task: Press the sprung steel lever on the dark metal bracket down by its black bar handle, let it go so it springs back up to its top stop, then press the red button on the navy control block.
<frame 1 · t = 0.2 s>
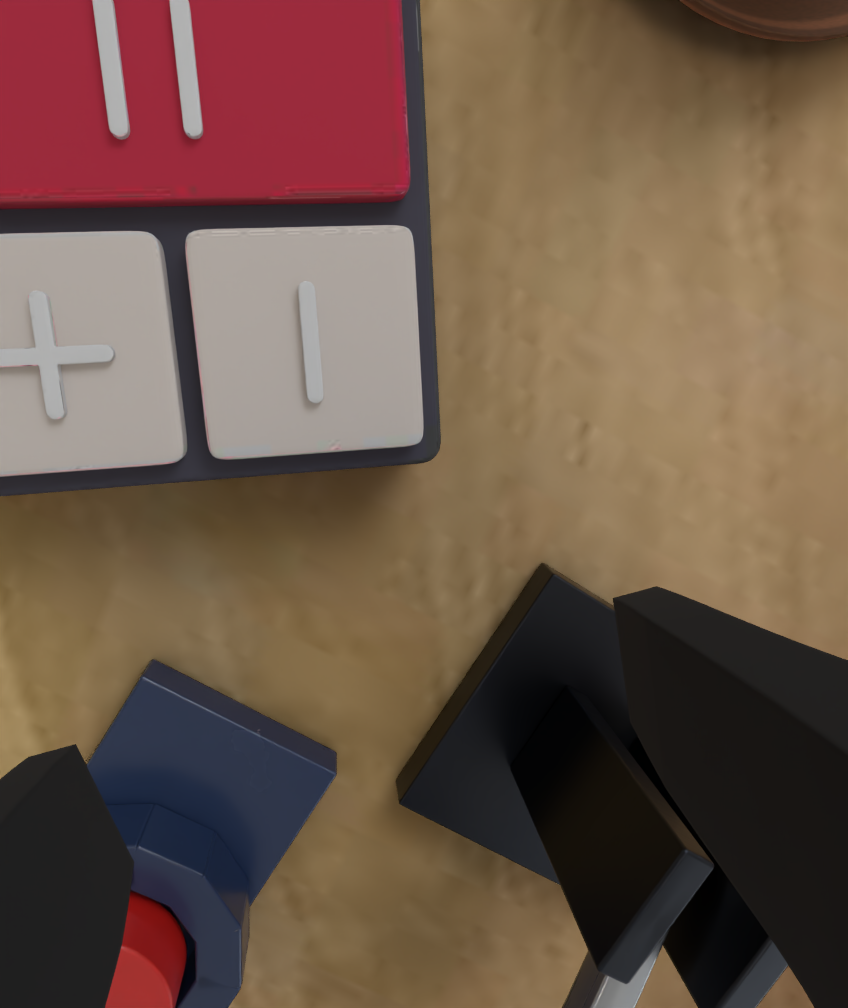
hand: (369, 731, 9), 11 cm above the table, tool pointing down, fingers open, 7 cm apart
calculator: (115, 250, 18), on the table
button: (97, 982, 17), point 3 cm above the table, slide at 0.1 cm
control block: (160, 842, 21), on the table
bracket: (572, 732, 22), on the table
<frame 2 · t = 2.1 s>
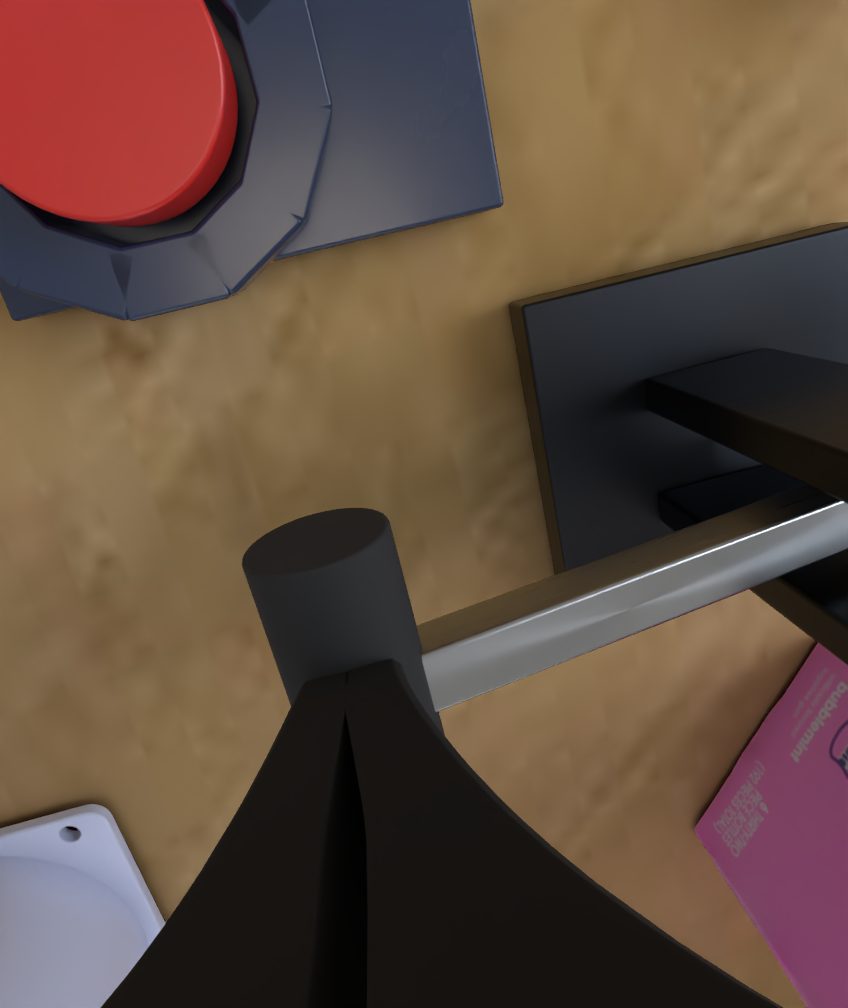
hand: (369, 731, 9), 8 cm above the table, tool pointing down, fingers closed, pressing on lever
button: (97, 83, 11), point 3 cm above the table, slide at 0.1 cm
control block: (223, 107, 14), on the table
bracket: (687, 425, 18), on the table
lever: (620, 594, 11), point 7 cm above the table, hinge at 9.6°, touching gripper
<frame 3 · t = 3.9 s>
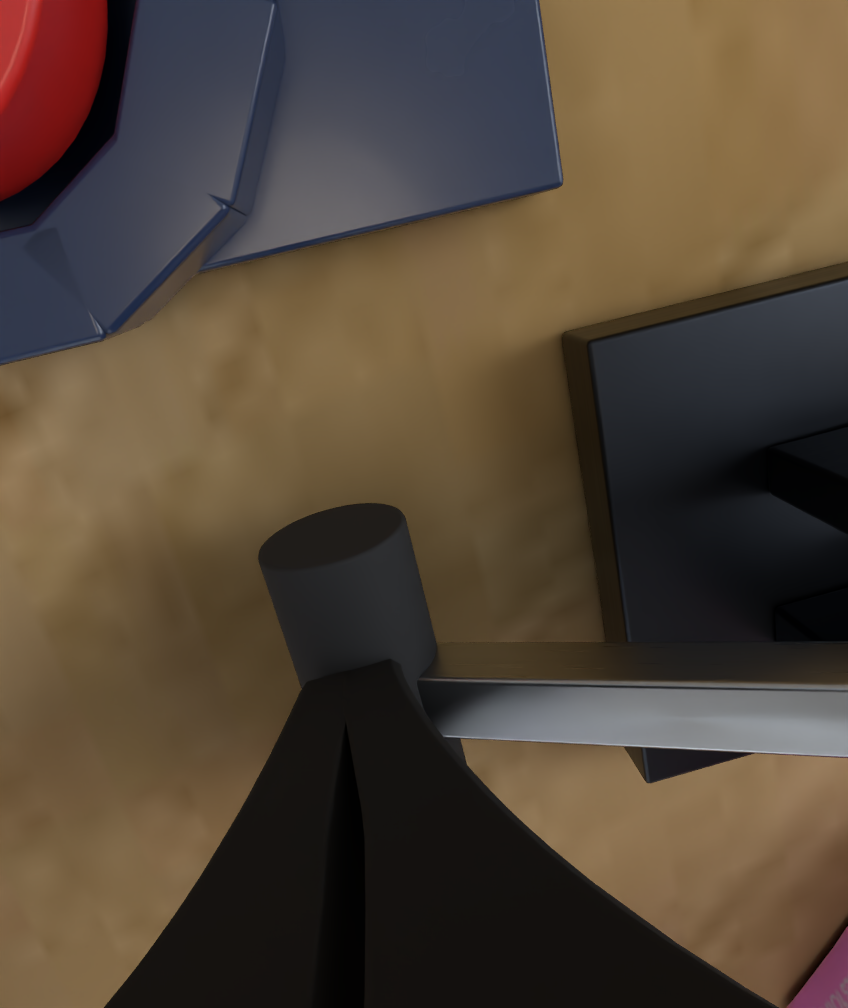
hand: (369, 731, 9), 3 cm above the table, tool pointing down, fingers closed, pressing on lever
control block: (117, 27, 9), on the table
bracket: (808, 503, 12), on the table
lever: (693, 694, 9), point 4 cm above the table, hinge at -26.7°, touching gripper
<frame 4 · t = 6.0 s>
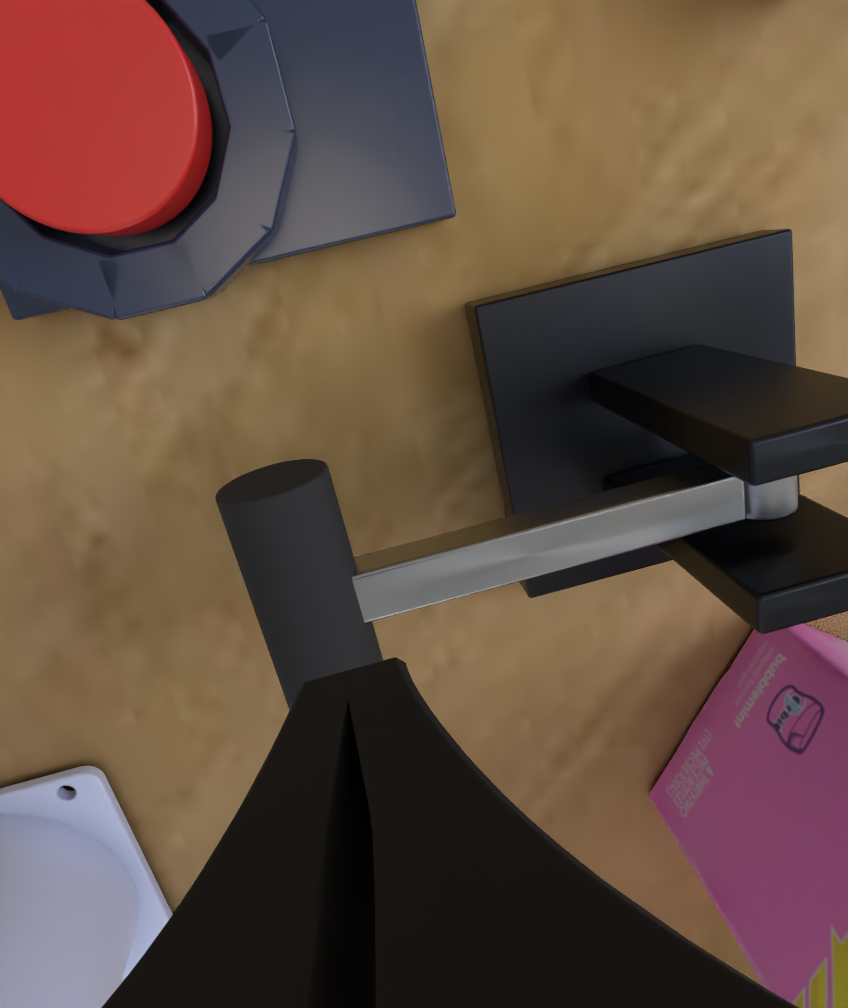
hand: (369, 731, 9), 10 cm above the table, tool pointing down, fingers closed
button: (87, 112, 12), point 3 cm above the table, slide at 0.1 cm
control block: (202, 127, 16), on the table
bracket: (633, 416, 19), on the table
lever: (531, 543, 13), point 6 cm above the table, hinge at 0.2°
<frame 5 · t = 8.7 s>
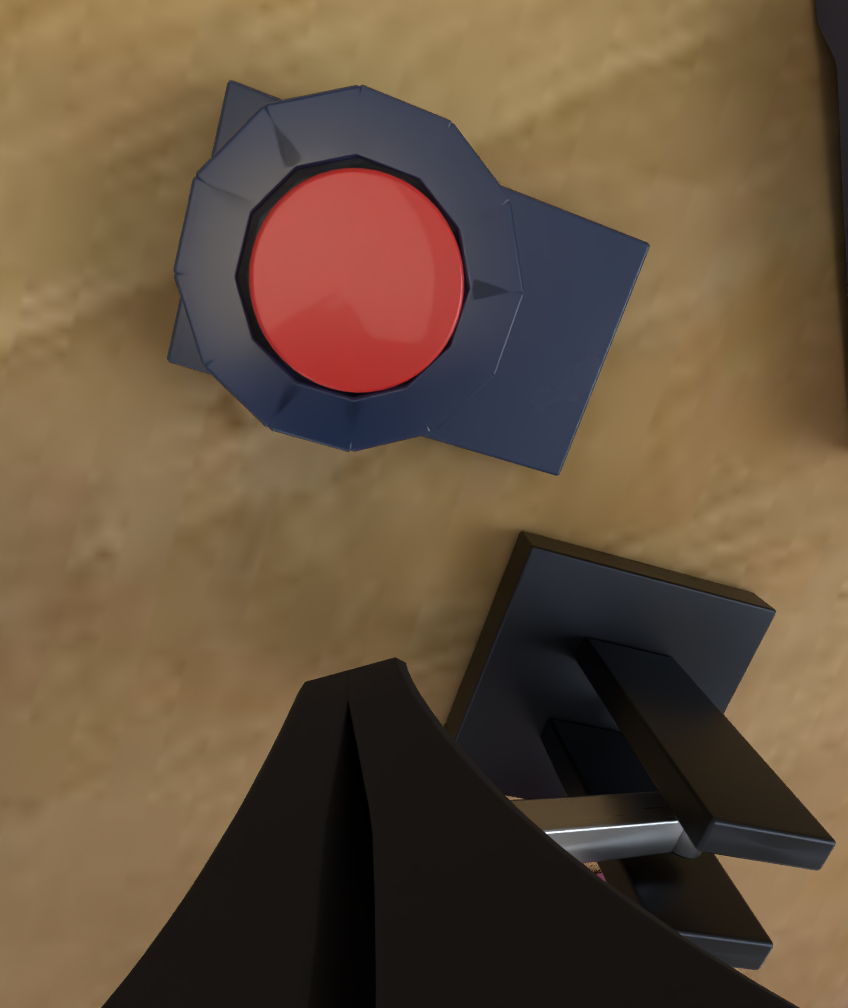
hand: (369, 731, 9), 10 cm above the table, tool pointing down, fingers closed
button: (356, 284, 14), point 3 cm above the table, slide at 0.1 cm
control block: (407, 298, 17), on the table
bracket: (591, 676, 22), on the table
lever: (524, 834, 14), point 7 cm above the table, hinge at 15.8°
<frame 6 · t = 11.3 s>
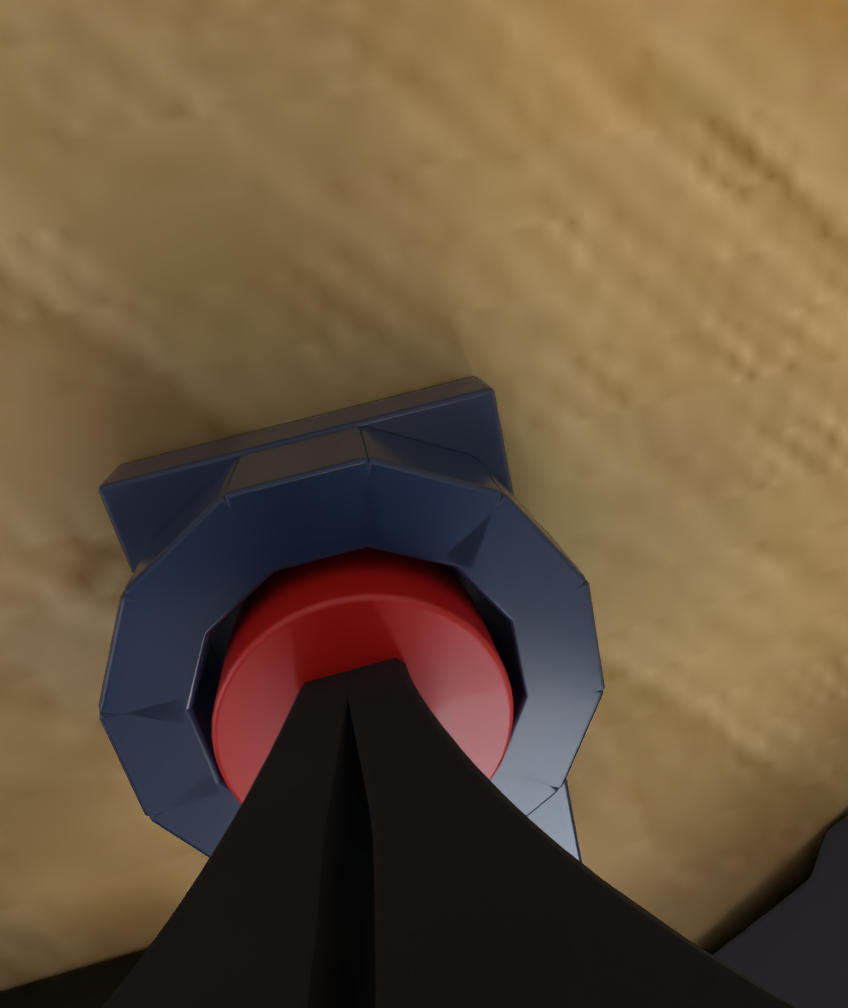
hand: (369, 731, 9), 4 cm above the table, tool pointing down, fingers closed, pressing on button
button: (363, 693, 10), point 3 cm above the table, slide at -0.6 cm, touching gripper
control block: (374, 672, 13), on the table
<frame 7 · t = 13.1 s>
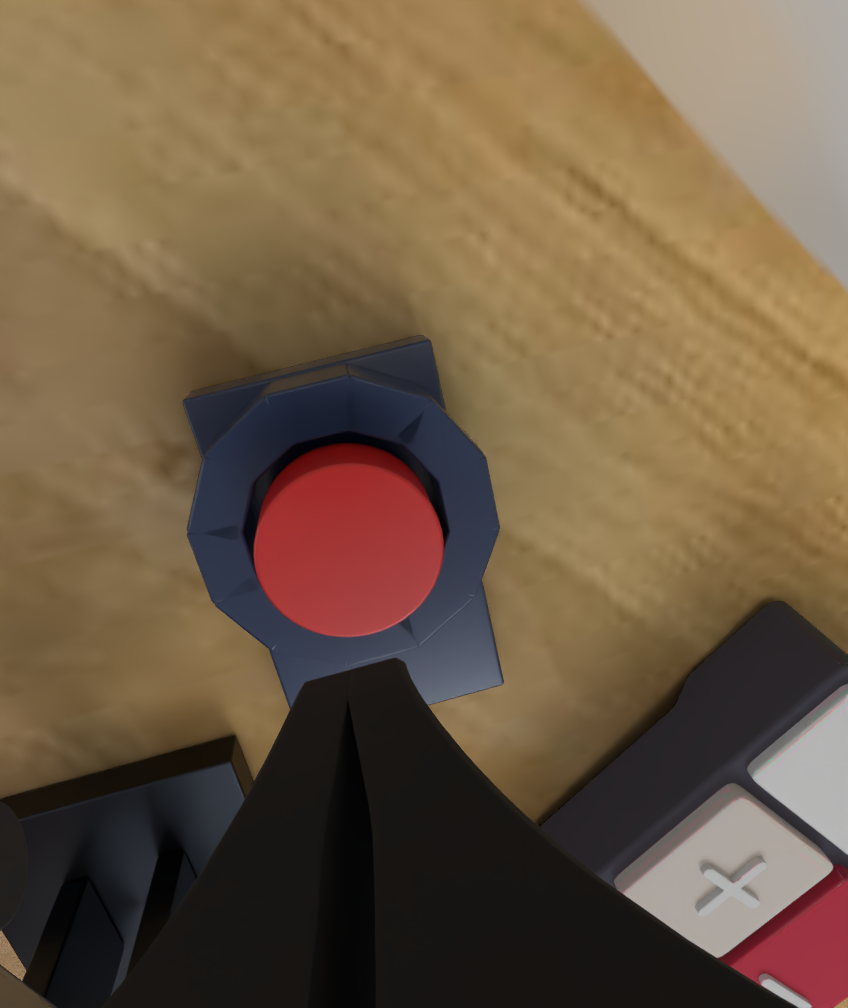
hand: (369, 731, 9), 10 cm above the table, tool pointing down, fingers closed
calculator: (701, 825, 25), on the table
button: (348, 539, 16), point 3 cm above the table, slide at 0.1 cm
control block: (357, 540, 19), on the table
bracket: (150, 869, 22), on the table
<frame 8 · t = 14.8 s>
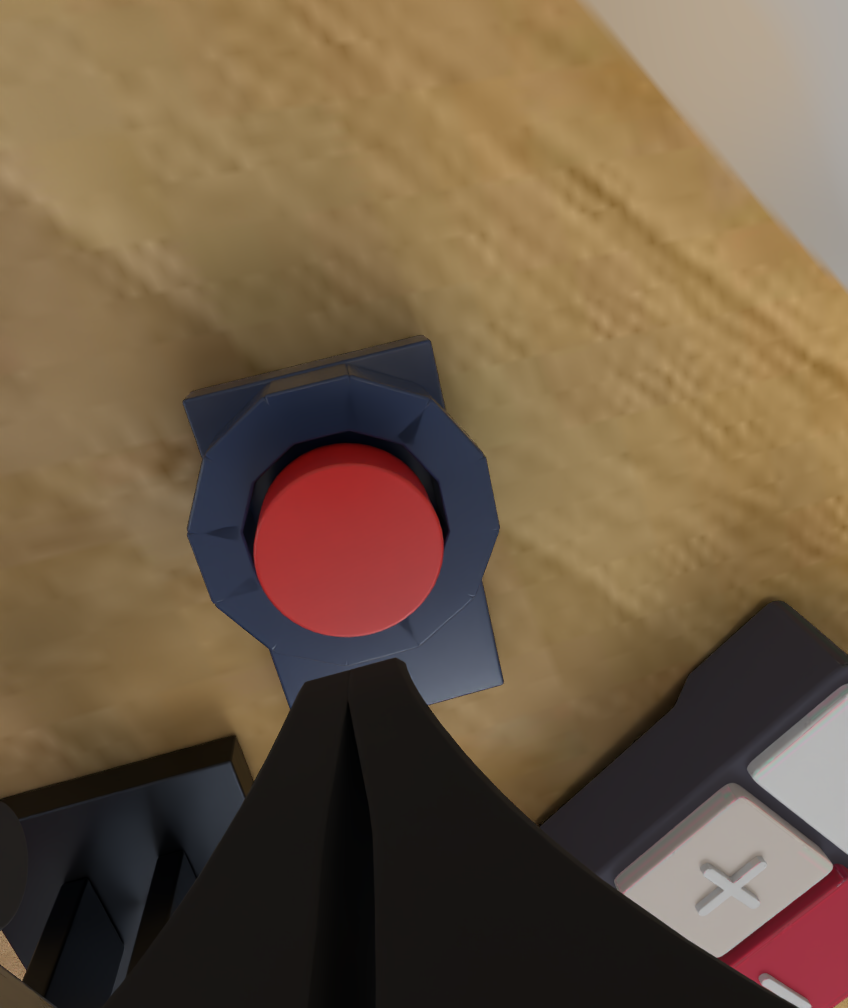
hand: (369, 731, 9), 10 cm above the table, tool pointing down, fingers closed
calculator: (701, 825, 25), on the table
button: (348, 539, 16), point 3 cm above the table, slide at 0.1 cm
control block: (357, 540, 19), on the table
bracket: (150, 869, 22), on the table
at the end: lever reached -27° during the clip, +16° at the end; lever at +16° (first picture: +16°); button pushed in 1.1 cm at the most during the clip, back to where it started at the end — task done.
